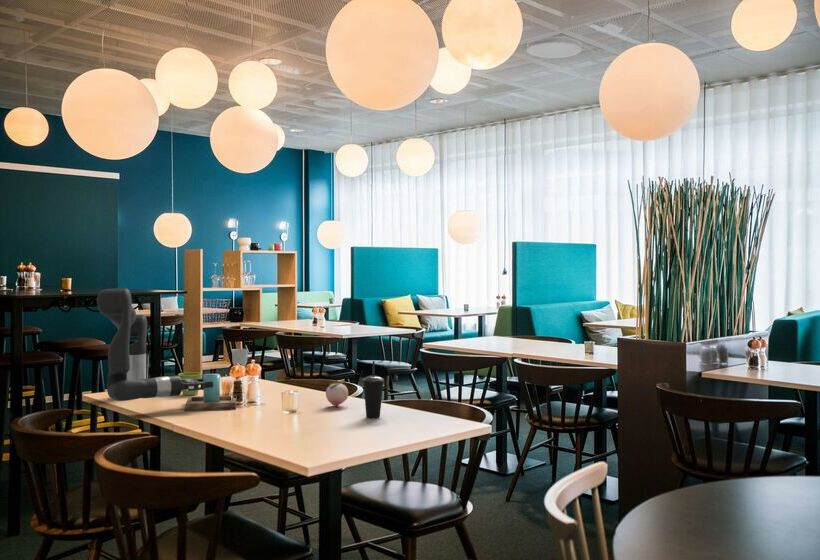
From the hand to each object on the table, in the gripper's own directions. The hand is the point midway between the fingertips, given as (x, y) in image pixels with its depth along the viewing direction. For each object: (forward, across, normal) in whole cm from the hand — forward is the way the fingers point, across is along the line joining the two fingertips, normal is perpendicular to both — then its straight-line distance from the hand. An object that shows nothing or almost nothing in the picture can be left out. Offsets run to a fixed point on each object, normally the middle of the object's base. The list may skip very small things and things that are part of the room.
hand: (208, 382), depth 284 cm
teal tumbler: (+2, 0, +8) cm, 8 cm away
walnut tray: (+2, 0, +9) cm, 9 cm away
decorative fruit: (+40, -29, +9) cm, 50 cm away
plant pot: (+6, +30, +9) cm, 32 cm away
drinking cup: (+38, -54, +9) cm, 66 cm away
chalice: (+26, +26, +9) cm, 38 cm away
